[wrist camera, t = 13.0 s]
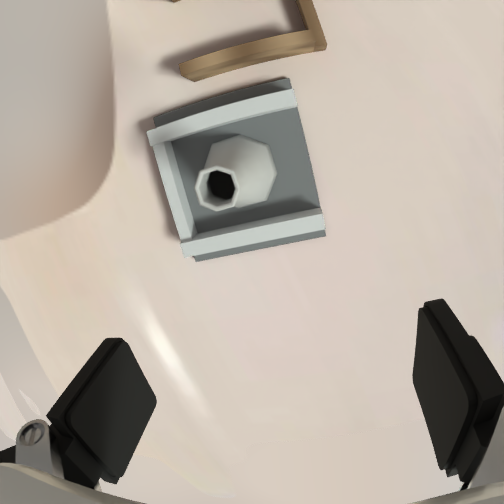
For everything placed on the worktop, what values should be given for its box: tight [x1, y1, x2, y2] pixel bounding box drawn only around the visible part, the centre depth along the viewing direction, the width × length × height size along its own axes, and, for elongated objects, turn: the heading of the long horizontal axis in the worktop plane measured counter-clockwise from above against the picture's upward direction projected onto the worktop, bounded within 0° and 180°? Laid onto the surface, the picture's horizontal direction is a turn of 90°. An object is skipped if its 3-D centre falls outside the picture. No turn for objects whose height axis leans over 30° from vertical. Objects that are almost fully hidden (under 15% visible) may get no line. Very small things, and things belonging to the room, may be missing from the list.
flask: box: [194, 135, 277, 211], centre depth 26 cm, size 7×7×10 cm
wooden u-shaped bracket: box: [172, 0, 327, 82], centre depth 23 cm, size 13×11×4 cm
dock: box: [147, 78, 326, 262], centre depth 30 cm, size 14×16×3 cm
